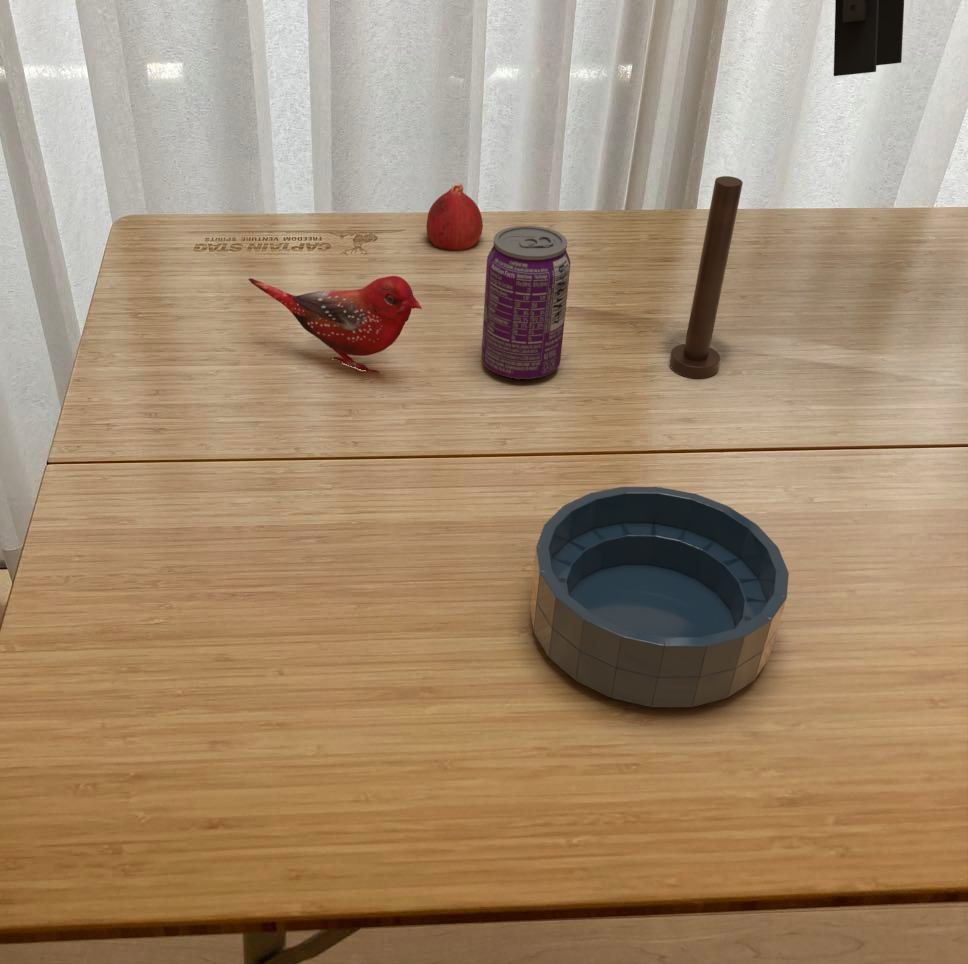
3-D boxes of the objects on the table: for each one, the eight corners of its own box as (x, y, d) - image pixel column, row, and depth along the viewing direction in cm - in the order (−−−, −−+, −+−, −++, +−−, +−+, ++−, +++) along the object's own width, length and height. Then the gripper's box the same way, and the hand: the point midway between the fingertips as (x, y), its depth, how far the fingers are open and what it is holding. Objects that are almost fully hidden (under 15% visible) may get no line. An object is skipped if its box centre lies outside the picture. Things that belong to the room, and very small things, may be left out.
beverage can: (548, 344, 104) (560, 221, 96) (568, 383, 98) (583, 255, 91) (473, 349, 103) (480, 225, 95) (490, 389, 97) (498, 260, 90)
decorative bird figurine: (412, 396, 96) (414, 290, 90) (244, 346, 102) (234, 243, 96) (428, 381, 98) (430, 276, 92) (262, 333, 104) (254, 232, 98)
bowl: (774, 579, 78) (793, 511, 74) (759, 741, 66) (781, 671, 62) (556, 535, 81) (564, 468, 78) (505, 683, 70) (511, 612, 66)
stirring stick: (720, 359, 102) (758, 174, 91) (715, 382, 99) (754, 194, 88) (672, 351, 103) (704, 168, 92) (665, 374, 100) (698, 187, 89)
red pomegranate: (439, 273, 115) (441, 198, 110) (417, 251, 119) (418, 178, 114) (489, 264, 117) (494, 189, 112) (466, 242, 121) (469, 170, 116)
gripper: (853, -227, 87) (845, 66, 95) (785, -294, 67) (782, 84, 75) (959, -251, 83) (941, 56, 91) (920, -329, 63) (901, 72, 72)
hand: (869, 69), depth 83 cm, fingers open, 13 cm apart
